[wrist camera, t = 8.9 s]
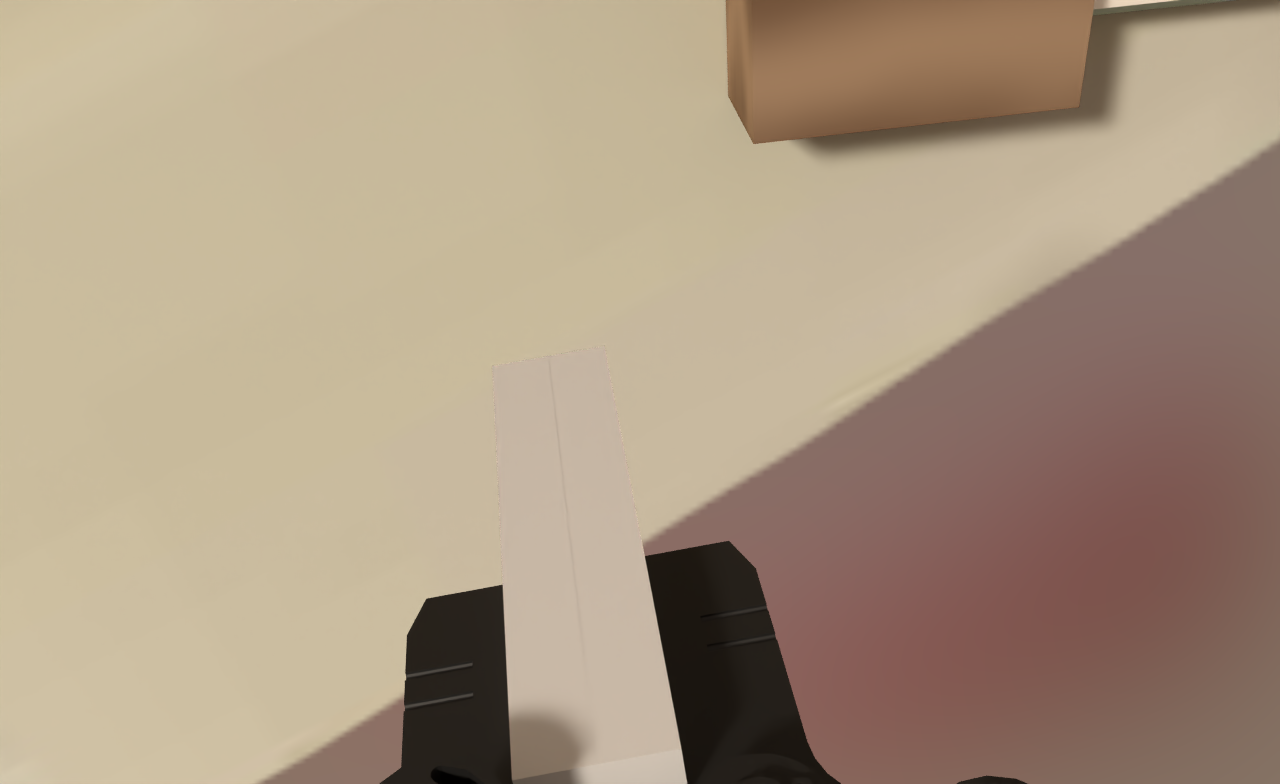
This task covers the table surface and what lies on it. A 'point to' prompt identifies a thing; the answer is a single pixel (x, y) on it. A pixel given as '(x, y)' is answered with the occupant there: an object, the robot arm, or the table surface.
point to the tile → (1122, 3)
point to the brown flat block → (899, 62)
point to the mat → (1152, 6)
